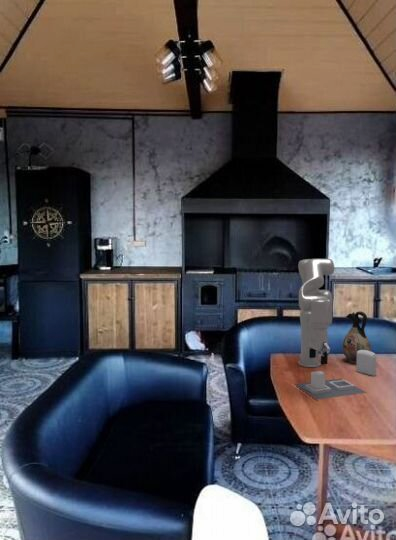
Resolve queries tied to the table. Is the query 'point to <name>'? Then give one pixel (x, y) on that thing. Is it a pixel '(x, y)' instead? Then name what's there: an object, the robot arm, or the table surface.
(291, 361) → the table surface
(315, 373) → the plug
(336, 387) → the dock board
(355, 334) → the ceramic jug
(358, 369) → the photo printer
